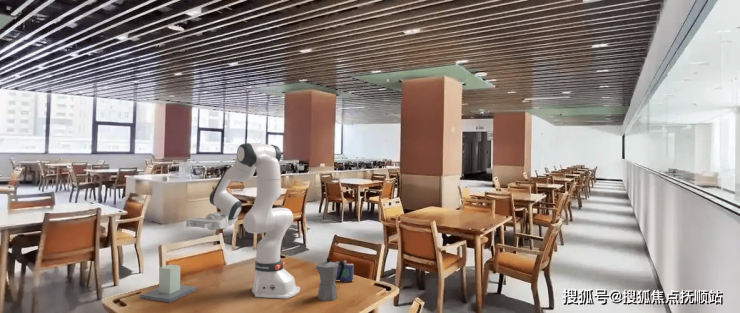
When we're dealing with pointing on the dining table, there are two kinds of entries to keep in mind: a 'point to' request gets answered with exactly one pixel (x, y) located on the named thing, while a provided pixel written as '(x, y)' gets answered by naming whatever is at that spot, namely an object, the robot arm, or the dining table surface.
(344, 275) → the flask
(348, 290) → the dining table surface
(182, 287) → the board
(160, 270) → the cover
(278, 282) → the robot arm
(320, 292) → the coffeepot
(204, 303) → the dining table surface
